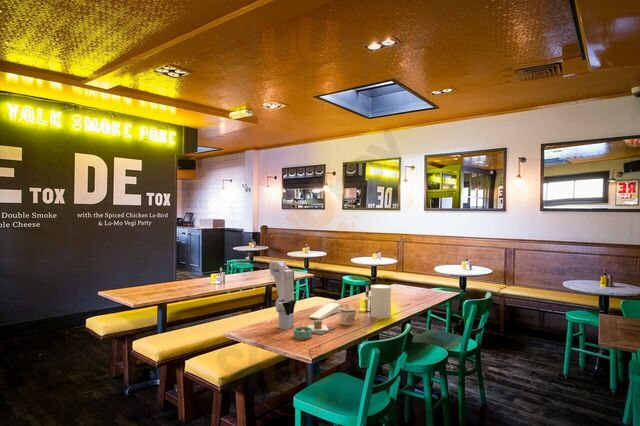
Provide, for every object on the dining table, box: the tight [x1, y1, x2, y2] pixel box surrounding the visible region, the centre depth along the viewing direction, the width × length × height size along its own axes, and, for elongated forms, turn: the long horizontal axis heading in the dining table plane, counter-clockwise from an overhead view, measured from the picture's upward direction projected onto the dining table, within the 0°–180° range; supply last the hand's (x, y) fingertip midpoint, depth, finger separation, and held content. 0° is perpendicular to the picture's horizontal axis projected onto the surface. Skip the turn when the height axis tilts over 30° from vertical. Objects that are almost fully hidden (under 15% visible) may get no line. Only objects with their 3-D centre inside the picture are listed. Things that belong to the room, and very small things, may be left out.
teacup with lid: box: [340, 304, 357, 326], centre depth 244 cm, size 12×9×12 cm
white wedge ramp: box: [308, 302, 342, 320], centre depth 265 cm, size 10×7×28 cm
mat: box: [312, 325, 336, 336], centre depth 230 cm, size 15×15×1 cm
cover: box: [307, 319, 328, 332], centre depth 230 cm, size 11×11×5 cm
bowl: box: [293, 326, 313, 340], centre depth 217 cm, size 10×10×4 cm
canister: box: [370, 283, 392, 320], centre depth 261 cm, size 14×14×20 cm
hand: (289, 314), depth 224 cm, fingers open, 7 cm apart
